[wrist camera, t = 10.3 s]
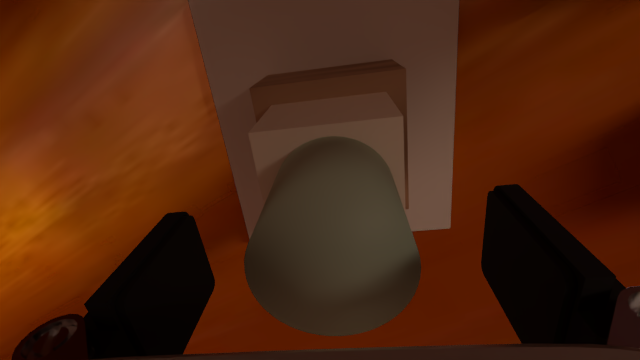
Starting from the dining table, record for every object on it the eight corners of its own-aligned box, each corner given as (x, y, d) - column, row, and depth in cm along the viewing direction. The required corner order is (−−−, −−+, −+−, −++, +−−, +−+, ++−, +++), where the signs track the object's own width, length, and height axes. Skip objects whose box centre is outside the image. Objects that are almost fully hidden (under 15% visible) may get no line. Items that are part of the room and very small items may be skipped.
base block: (267, 74, 22) (249, 88, 17) (391, 59, 21) (406, 68, 17) (288, 184, 25) (276, 219, 21) (396, 174, 24) (408, 209, 20)
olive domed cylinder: (264, 142, 13) (226, 204, 9) (392, 129, 13) (420, 187, 8) (285, 246, 15) (262, 339, 11) (396, 238, 15) (420, 332, 10)
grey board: (195, -1, 21) (187, -3, 20) (454, -41, 20) (460, -45, 19) (253, 235, 29) (250, 243, 28) (445, 220, 27) (450, 228, 26)
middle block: (271, 105, 18) (247, 133, 13) (386, 91, 17) (403, 115, 13) (289, 204, 20) (275, 256, 16) (390, 195, 20) (406, 247, 15)
